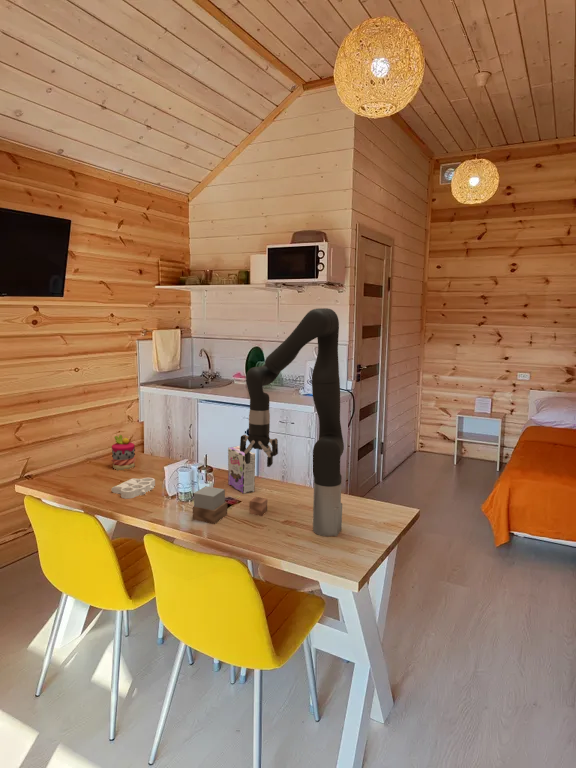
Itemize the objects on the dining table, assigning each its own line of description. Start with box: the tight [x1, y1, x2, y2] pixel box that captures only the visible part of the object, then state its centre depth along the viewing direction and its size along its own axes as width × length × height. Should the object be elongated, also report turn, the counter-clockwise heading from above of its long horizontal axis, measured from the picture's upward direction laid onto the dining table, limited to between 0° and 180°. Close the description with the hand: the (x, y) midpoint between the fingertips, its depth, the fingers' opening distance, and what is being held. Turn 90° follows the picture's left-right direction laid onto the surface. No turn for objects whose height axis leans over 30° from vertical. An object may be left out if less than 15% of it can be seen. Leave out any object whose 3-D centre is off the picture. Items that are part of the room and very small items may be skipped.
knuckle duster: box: [110, 477, 156, 499], centre depth 210 cm, size 3×18×15 cm
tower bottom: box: [192, 501, 228, 525], centre depth 185 cm, size 9×9×5 cm
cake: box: [110, 434, 137, 471], centre depth 240 cm, size 10×10×15 cm
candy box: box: [227, 445, 256, 494], centre depth 215 cm, size 14×6×16 cm, turn 33°
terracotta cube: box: [249, 496, 268, 517], centre depth 189 cm, size 5×5×5 cm
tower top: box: [193, 486, 226, 510], centre depth 184 cm, size 8×8×5 cm
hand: (258, 464), depth 187 cm, fingers open, 8 cm apart
